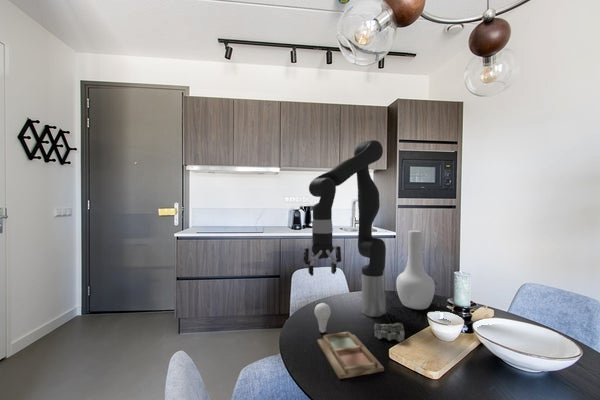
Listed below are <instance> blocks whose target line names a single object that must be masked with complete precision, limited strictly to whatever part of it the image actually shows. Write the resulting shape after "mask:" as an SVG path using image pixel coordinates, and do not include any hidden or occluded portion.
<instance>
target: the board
mask: <svg viewBox="0 0 600 400" xmlns="http://www.w3.org/2000/svg"><path fill="white" fill-rule="evenodd" d="M316 342H317V344H318V346H319V347H320V349H321V351H322V352H323V355H325V358H326V359H327V361H328V362H329V364H330V366H331V367H332V369H333V371H334V373H335V374H336V376H337V378H338V379H339V380H342V379H347V378H353V377H359V376H364V375H370V374H375V373H380V372H384V371H385V368H384V366H383V365H382V363H380V362H379V360H378V359H377V358H376V357H375V356H374V355H373V354H372V353H371V352H370V351H369V349H368V348H367V347H366V346H365V345H364V344H363V343H362V341H361V340H360V339H359V338H358V337H357V335H355V334H352V333H351V332H350V331H343V332H342V331H341V332H335V333H329V334H322V338H319V339H317V341H316Z"/></svg>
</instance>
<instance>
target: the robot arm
mask: <svg viewBox="0 0 600 400" xmlns="http://www.w3.org/2000/svg"><path fill="white" fill-rule="evenodd" d="M353 150H354V152H353V156H352V157H350V158H348V159H346V160H342V162H340V163H338V164H336V165H335V166H333V168H331V169H330V170H329V171H327V172H325V173H322V174H321V175H318V176H316V177H314V179H312V180H311V181H310V183H309V185H308V191H309V194H311V196H313V197H316V198H319V202H317V203H315V204H313V206H312V227H311V228H312V229H311V231H312V234H311V235H312V237H311V238H312V239H311V240H312V241H311V242H312V243H311V247H307V246H304V248H303V259H302V260H303V263H304V264H305V265H308V267H307V269H308V270H307V271H308V274H309V275H310V276H311V277H312V276H314V264H315V263H316V262H317V260H318V259H319V260H322V259H326V260H327V259H329V260H330V261H331V263H330V266H331V268H330V272H331V274H333V275H335V274H336V273H337V264H338V263H341V262H342V252H341V251H342V249H341V248H342V247H341V246H339V245H335V246H333V230H334V229H333V220H332V219H333V217H332V216H333V214H332V213H333V212H332V211H333V210H332V208H333V205H334V200H335V196H336V192H337V187H338V186H341V185H342V184H343V183H345V182H346V181H347V180H348V179H350V178H351V177H353V176H354V175H355V174H356V182H357V206H358V207H357V208H358V232H357V233H358V234H357V250H358V253H359V255H360V256H362V257H364V258H368V259H369V263H368V264H366V265H362V267H361V313H362V314H363V315H364V316H367V317H371V318H378V317H380V318H381V317H382V316H384V315H386V292H385V291H384V272H385V268H386V255H387V254H386V252H387V248H386V247H387V246H386V243H385V241H384V240H383V239H382V238H378V237H373V235H372V234H373V232H372V231H373V223H374V221H375V219H376V218H377V217H376V216H377V215H378V213H379V210H380V206H381V205H380V204H381V203H380V201H381V200H380V193H379V192H380V191H379V189H378V187H377V185H376V183H375V182H374V180H373V179H372V176H371V174H370V168H369V165H372V164H374V163H375V162H377V161H379V160H380V159H381V158H382V156H383V154H384V150H383V145H382V143H381V142H380V141H378V140H367V141H363V142H359V143H356V145H355V147H354V149H353ZM333 251H334V252H335V257H334V256H333V254H332V253H333ZM311 252H312V255H311V257H309V256H310V255H309V254H311ZM309 258H310V259H309Z"/></svg>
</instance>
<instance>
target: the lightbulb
mask: <svg viewBox="0 0 600 400" xmlns="http://www.w3.org/2000/svg"><path fill="white" fill-rule="evenodd" d="M331 311H332V310H331V308H330V306H329V305H328V304H327V303H324V302H320V303H318V304H316V306H315V308H314V315H315V318H316V319H317V324H318V330H319V332H320V333H322V334H324V333H325V332H327V326H328V321H329V319H330V317H331V313H332V312H331Z"/></svg>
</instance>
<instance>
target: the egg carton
mask: <svg viewBox="0 0 600 400" xmlns="http://www.w3.org/2000/svg"><path fill="white" fill-rule="evenodd" d="M373 329H374V337H375V338H377V339H379V340H382V339H386V340H387V341H391V340H396V341H397V342H399V343H401V342H402V341H404V340H405V330H404V329H405V328H404V324H403V323H401V322H395V323H388V324H386V323H382V324H378V323H374V326H373Z"/></svg>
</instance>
